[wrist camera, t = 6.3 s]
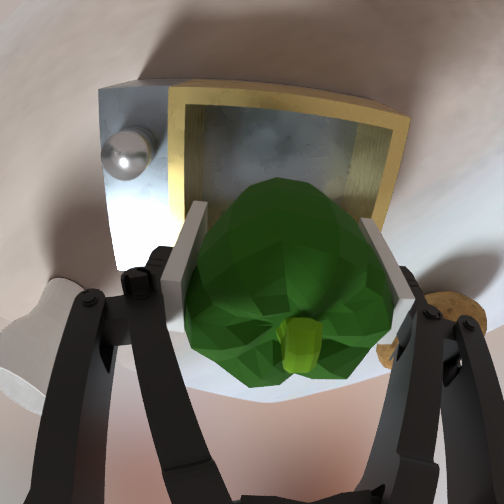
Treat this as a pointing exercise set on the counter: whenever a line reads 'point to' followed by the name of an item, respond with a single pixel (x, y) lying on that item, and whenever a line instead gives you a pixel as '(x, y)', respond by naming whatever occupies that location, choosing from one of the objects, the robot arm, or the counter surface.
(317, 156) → the gold open box
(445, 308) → the potato
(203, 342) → the bell pepper
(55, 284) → the cup
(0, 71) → the counter surface
